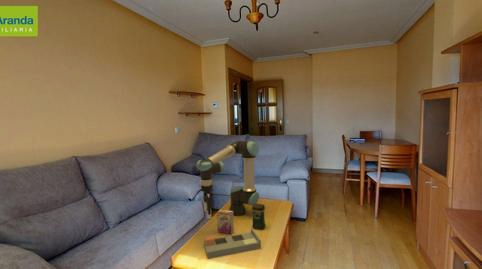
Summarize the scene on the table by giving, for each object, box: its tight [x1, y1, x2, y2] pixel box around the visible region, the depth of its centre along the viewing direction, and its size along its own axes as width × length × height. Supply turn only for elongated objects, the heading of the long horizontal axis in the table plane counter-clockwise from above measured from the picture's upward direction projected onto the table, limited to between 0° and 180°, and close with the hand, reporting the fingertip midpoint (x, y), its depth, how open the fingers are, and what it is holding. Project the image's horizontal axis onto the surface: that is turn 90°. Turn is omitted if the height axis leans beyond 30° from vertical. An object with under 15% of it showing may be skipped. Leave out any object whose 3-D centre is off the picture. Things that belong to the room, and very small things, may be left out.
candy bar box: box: [216, 208, 235, 235], centre depth 180 cm, size 11×5×16 cm, turn 71°
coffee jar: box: [251, 203, 266, 230], centre depth 186 cm, size 10×8×19 cm
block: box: [204, 234, 216, 246], centre depth 162 cm, size 6×6×4 cm
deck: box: [203, 227, 262, 260], centre depth 162 cm, size 17×35×6 cm, turn 107°
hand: (207, 214), depth 168 cm, fingers open, 13 cm apart
